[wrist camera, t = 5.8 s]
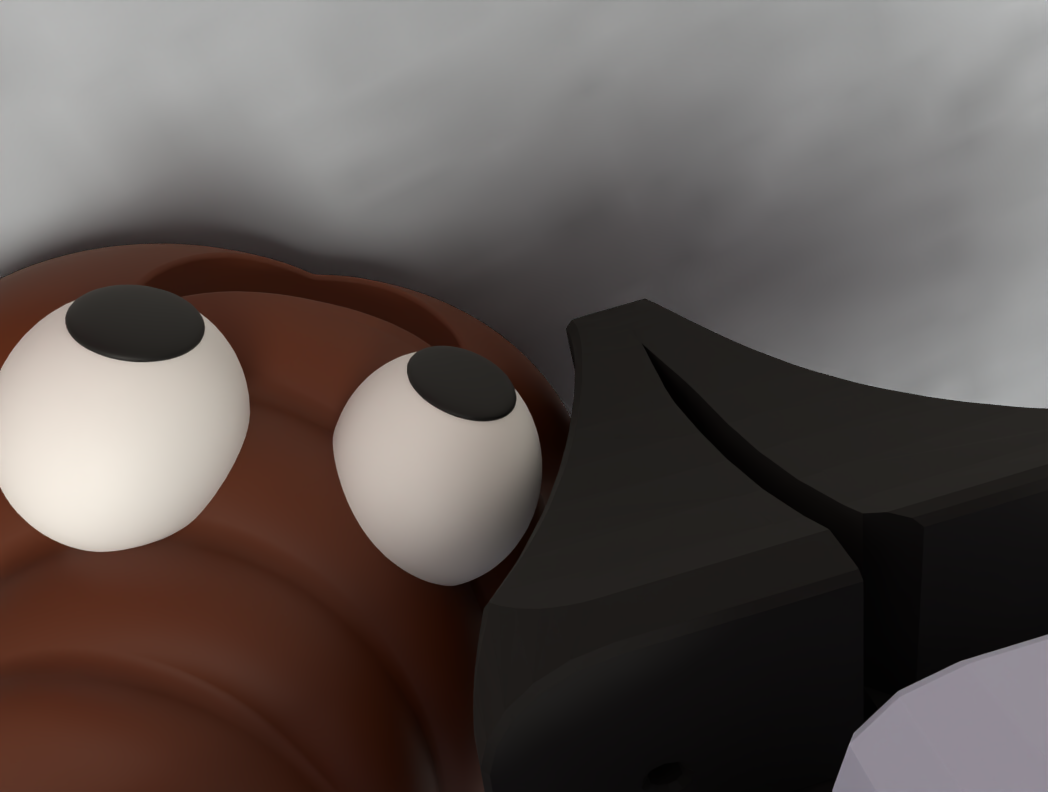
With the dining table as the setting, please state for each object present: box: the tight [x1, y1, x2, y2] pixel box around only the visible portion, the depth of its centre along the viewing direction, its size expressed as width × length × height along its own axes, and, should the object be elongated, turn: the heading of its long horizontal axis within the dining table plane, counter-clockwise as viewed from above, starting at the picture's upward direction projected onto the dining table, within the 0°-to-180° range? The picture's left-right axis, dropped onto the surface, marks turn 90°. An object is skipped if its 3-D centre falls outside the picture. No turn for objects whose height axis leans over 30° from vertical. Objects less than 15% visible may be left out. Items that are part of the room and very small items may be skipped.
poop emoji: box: [0, 243, 571, 792], centre depth 10 cm, size 10×8×9 cm
